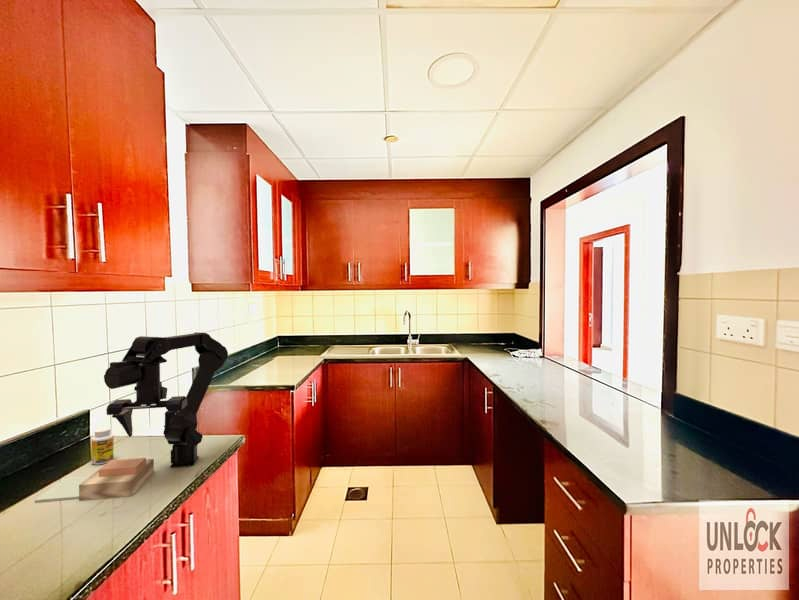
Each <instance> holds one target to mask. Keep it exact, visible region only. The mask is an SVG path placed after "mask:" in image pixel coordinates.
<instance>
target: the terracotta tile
mask: <svg viewBox="0 0 799 600" xmlns="http://www.w3.org/2000/svg"><path fill="white" fill-rule="evenodd" d="M146 459H147V458H146V457H138V458H125V459H113V460H111V461H109V462H108V463H105V464H103V465H102V467H101V468H99V469H98V470H99V477H106V476H119V475H131V474H137V473H138V472H139V471H140V470H141V469H142V468H143V467H144V466H145V465H146Z"/></svg>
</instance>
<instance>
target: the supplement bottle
mask: <svg viewBox="0 0 799 600" xmlns="http://www.w3.org/2000/svg"><path fill="white" fill-rule="evenodd" d="M111 460H114V434H113V433H112V432H111V428H110V427H101V428H98V429H95V430H94V435H93V436H92V437H91V463H92V465H97V466H99V465H105V464H107V463H108V462H109V461H111Z"/></svg>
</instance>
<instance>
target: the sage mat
mask: <svg viewBox="0 0 799 600" xmlns="http://www.w3.org/2000/svg"><path fill="white" fill-rule="evenodd" d="M90 476H91V475H90ZM90 476H77V477H65V478H64V479H63V480H61V481H59V482H58V483H56V485H54V486H52V487H51V488H49V489H48V490H47V491H46V492H44V493H43V494H41V495H40V496H38V497H37V498H35V500H34V503H44V502H58V501H66V500H68V501H69V500H79V485H80V484H81V483H82V482H84V481H85V480H86V479H87V478H89V477H90Z"/></svg>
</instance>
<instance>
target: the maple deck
mask: <svg viewBox="0 0 799 600" xmlns="http://www.w3.org/2000/svg"><path fill="white" fill-rule="evenodd" d="M154 461H155V459H154V458H146V465H145V466H144V467H143V468H142V469H141V470H140V471H139V472H138V473H137V474H131V475H119V476H106V477H99V469H98V470H96V471H95V472H94V473H93V474H91V475H90V477H89V478H87V479H86V480H85V481H84V482H82V483H81V484H80V485H79V499H78V500H79V501H89V500H100V498H102V499H111V498H112V497H113V498H123V496H124V497H132V496H133V494H135V492H137V490H138V489H139V488H141V487H142V485H143V484H144V483H146V481H147V480H148V479H149V477H151V476H152V475H153V473H155V462H154ZM113 498H112V499H113Z"/></svg>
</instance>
